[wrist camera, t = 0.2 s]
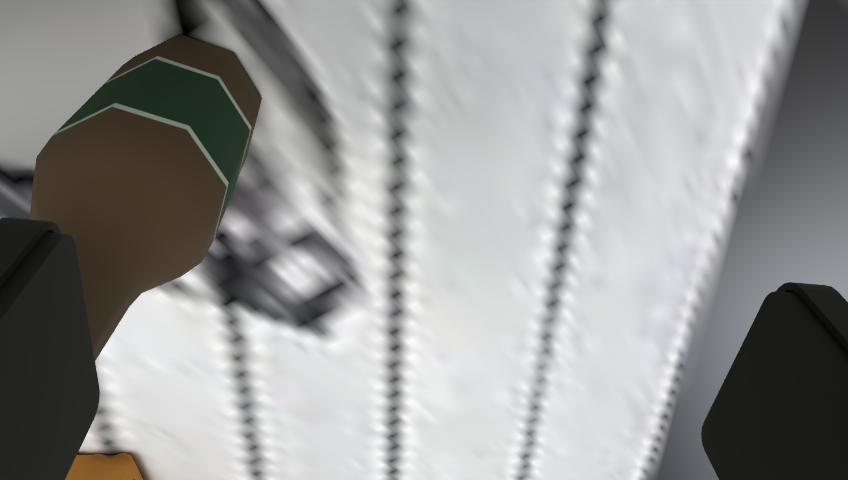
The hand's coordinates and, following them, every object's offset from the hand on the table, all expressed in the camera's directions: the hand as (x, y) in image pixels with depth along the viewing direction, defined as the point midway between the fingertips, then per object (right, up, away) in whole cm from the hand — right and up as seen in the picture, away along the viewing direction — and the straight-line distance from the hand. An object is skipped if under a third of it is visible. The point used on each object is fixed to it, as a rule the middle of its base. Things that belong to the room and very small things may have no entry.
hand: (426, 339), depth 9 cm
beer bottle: (-13, +9, +30) cm, 34 cm away
